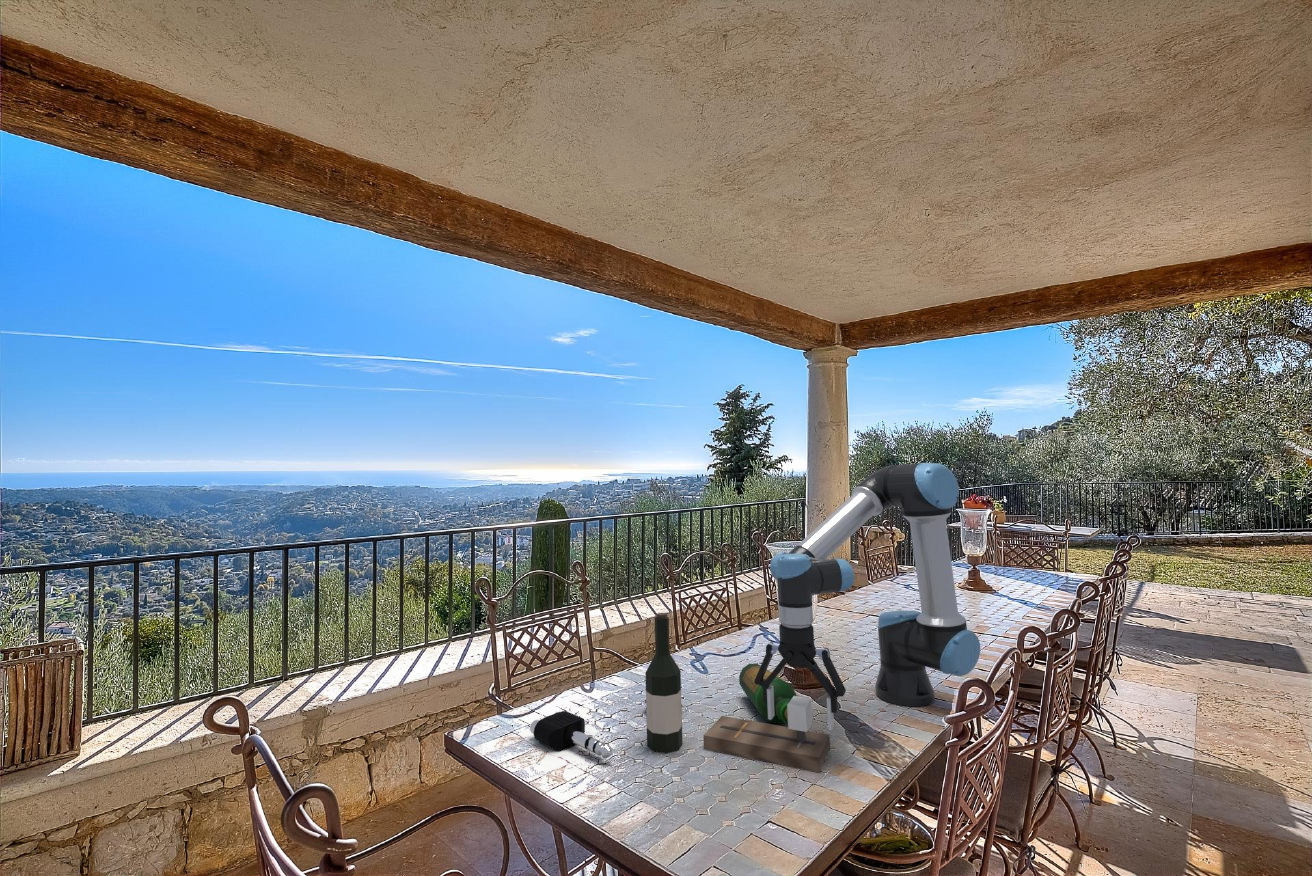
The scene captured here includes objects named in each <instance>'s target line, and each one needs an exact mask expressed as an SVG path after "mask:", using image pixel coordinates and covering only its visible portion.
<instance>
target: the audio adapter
mask: <svg viewBox="0 0 1312 876" xmlns="http://www.w3.org/2000/svg"><path fill="white" fill-rule="evenodd" d="M529 731H530V733H531V734H533V737H534V739H535V741H537V742H539V743H541V744H542V745H545V746H546V747H547V748H550V749H552V750H554V751H556V752H563V751H565V750H567V749H569V748H572V747H573V748H574V747H575V746H579V747H581V748H582V749H585V750H587V751H588V752H590V753H593V754H594V755H597V756H601V757H602V758H604V759H607V758H610V757H611V756H613V751H612V747H611V745H610V744H605V742H603V741H601V740H599V739H597V738H595V737H593V736H590V735H589V734H586V733H585V731H586V722H585V719H584V718H583V717H582V716H578V715H577V714H574V713H572V712H569V711H567V710H562V711H556V712H554V713H553V714H549V715H547V716H545V717H543V718H541V719H540V720H539V719H534V720H533V721H532V722H531V723H530V726H529Z"/></svg>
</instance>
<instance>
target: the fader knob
mask: <svg viewBox="0 0 1312 876" xmlns="http://www.w3.org/2000/svg"><path fill="white" fill-rule="evenodd" d="M787 711H788V723H787V727H788V729H793V730H796V734H797V741H798V742H805V740H806V735H805V732H807V731H809V729H810V727H811V726H812V724H813V703H812V698H810V697H804V696H798V695H797V696H793V698H792V699H791V701H790V702H789V703H788V705H787Z"/></svg>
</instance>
